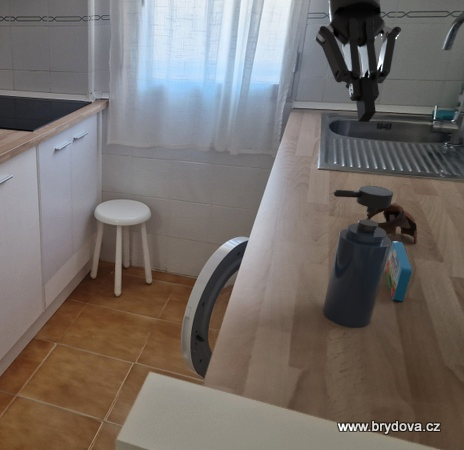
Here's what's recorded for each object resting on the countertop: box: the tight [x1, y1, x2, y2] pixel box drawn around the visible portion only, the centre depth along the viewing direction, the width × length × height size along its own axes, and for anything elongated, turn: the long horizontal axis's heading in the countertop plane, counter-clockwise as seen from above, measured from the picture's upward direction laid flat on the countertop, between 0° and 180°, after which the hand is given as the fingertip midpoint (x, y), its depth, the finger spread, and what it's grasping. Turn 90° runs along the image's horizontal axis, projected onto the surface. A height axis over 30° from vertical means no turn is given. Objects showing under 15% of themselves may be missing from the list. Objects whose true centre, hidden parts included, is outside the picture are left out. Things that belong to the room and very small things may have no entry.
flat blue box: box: [384, 240, 413, 303], centre depth 95 cm, size 12×2×6 cm, turn 157°
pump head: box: [333, 185, 394, 213], centre depth 80 cm, size 8×4×3 cm, turn 81°
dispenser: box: [322, 218, 392, 329], centre depth 84 cm, size 7×7×16 cm
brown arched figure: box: [366, 202, 418, 245], centre depth 115 cm, size 12×10×8 cm
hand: (366, 116), depth 84 cm, fingers closed
